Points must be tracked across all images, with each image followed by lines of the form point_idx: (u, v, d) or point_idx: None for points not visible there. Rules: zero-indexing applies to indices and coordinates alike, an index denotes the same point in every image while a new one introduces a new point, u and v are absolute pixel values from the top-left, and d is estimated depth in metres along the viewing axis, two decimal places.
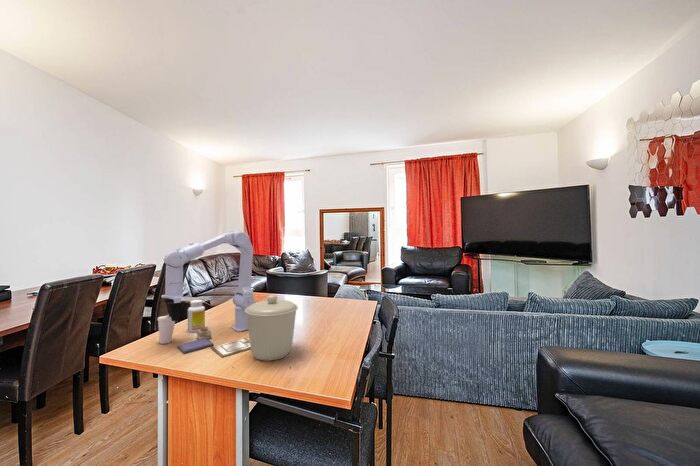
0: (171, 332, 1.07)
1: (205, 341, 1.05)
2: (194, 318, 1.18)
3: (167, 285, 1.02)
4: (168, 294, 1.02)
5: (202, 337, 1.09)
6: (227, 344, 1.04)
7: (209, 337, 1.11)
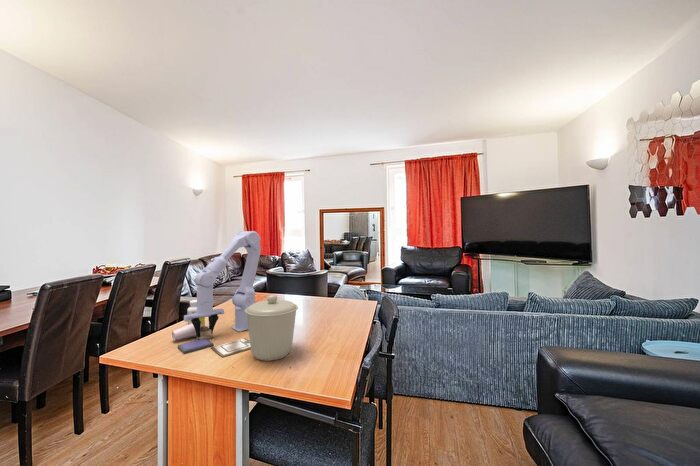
0: None
1: (205, 341, 1.05)
2: None
3: None
4: None
5: (202, 337, 1.09)
6: (227, 344, 1.04)
7: (209, 337, 1.11)
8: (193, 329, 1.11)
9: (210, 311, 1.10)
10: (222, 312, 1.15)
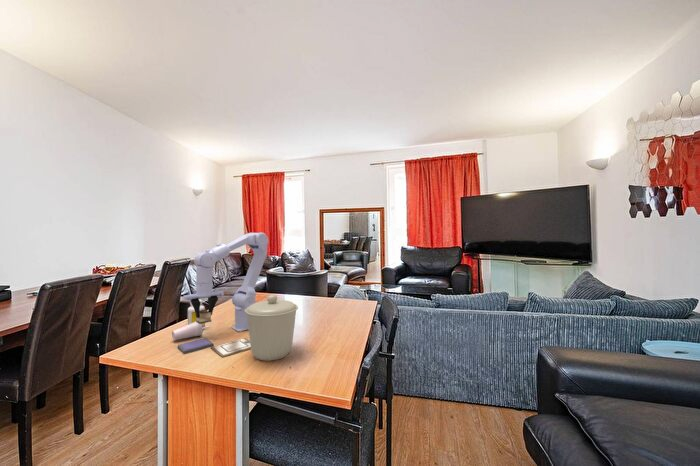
0: None
1: (205, 341, 1.05)
2: (194, 317, 1.18)
3: None
4: None
5: (202, 319, 1.08)
6: (227, 344, 1.04)
7: (209, 319, 1.10)
8: (193, 329, 1.11)
9: (210, 292, 1.10)
10: (222, 294, 1.14)
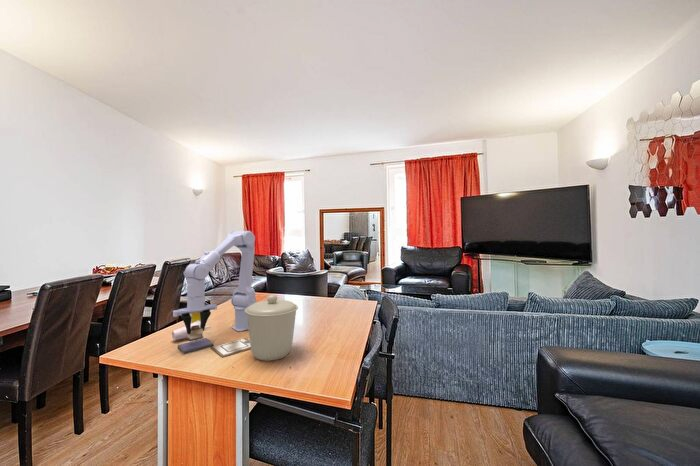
0: None
1: (205, 341, 1.05)
2: (194, 318, 1.18)
3: None
4: None
5: (193, 336, 1.01)
6: (227, 344, 1.04)
7: (200, 336, 1.03)
8: None
9: (202, 306, 1.02)
10: (215, 307, 1.07)
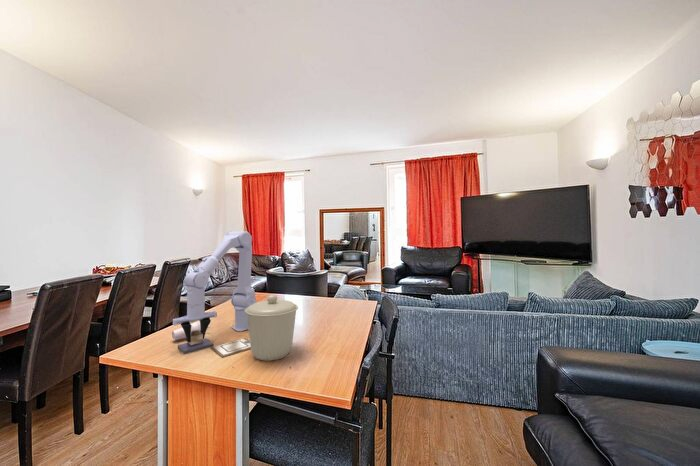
0: None
1: (205, 341, 1.05)
2: None
3: None
4: None
5: (193, 342, 1.01)
6: (227, 344, 1.04)
7: (200, 342, 1.03)
8: (193, 329, 1.11)
9: (201, 314, 1.02)
10: (215, 315, 1.07)
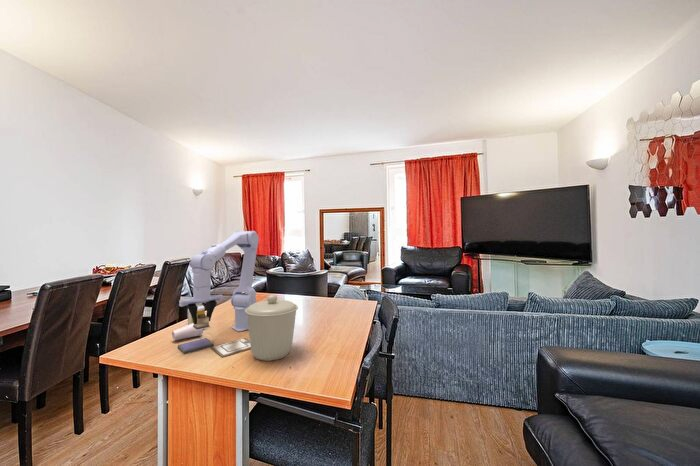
0: None
1: (205, 341, 1.05)
2: None
3: None
4: None
5: (199, 324, 1.01)
6: (227, 344, 1.04)
7: (207, 325, 1.03)
8: (193, 329, 1.11)
9: (207, 296, 1.02)
10: (221, 298, 1.07)
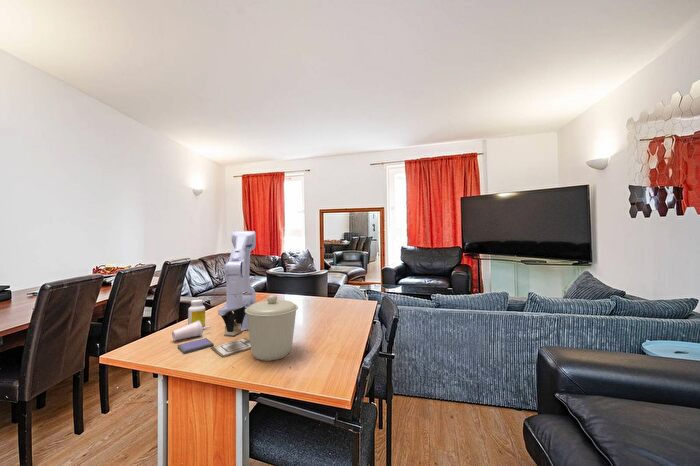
0: None
1: (205, 341, 1.05)
2: (194, 317, 1.18)
3: None
4: (226, 304, 1.01)
5: (235, 332, 1.01)
6: (227, 344, 1.04)
7: (240, 331, 1.03)
8: (193, 329, 1.11)
9: (242, 303, 1.03)
10: (248, 304, 1.08)
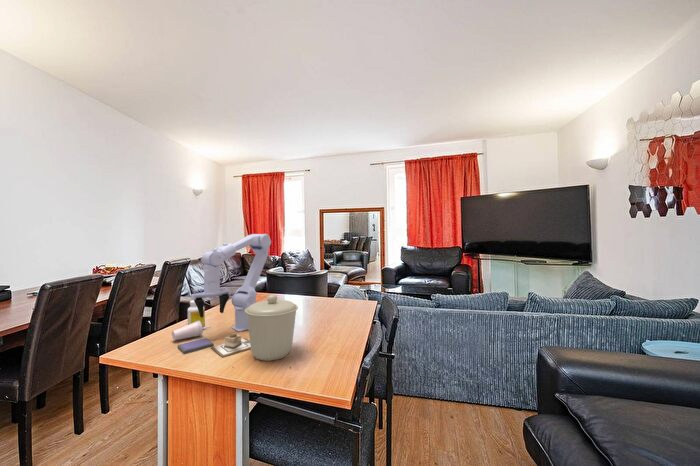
0: (184, 338, 1.10)
1: (205, 341, 1.05)
2: (193, 318, 1.18)
3: None
4: None
5: (235, 343, 1.01)
6: None
7: (240, 342, 1.03)
8: (193, 329, 1.11)
9: (217, 290, 1.10)
10: (229, 292, 1.15)
